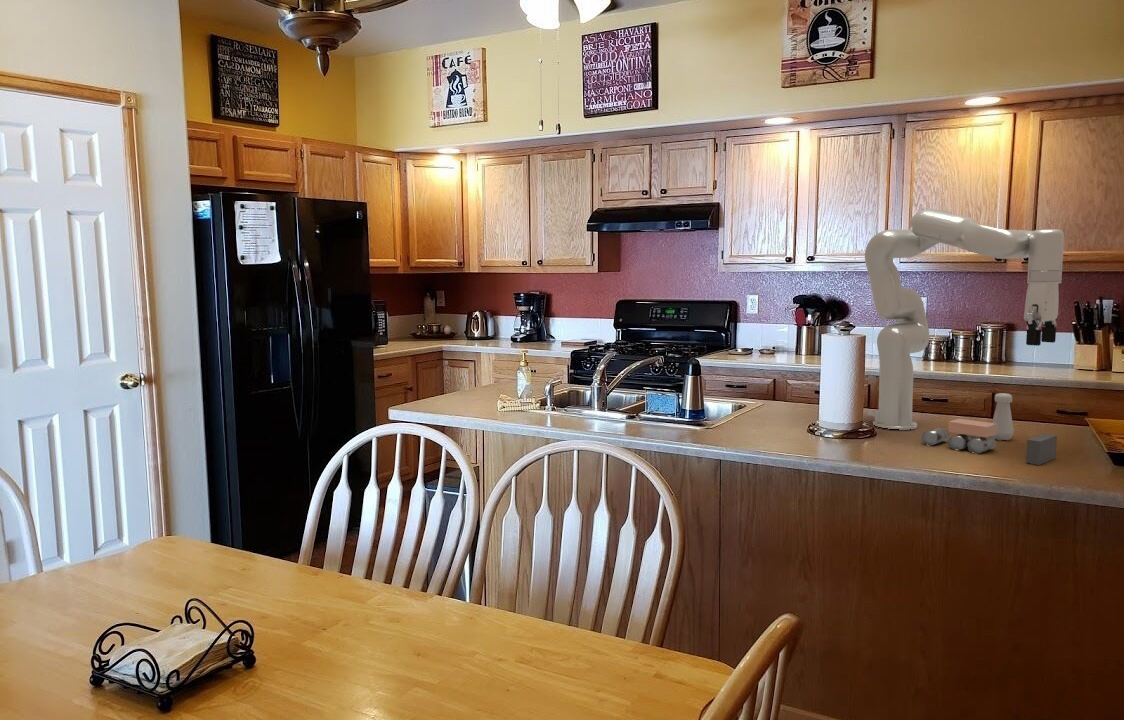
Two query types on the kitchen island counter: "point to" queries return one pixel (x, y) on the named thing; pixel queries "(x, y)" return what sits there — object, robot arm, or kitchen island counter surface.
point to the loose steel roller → (935, 436)
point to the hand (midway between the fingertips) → (1040, 343)
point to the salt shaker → (1003, 417)
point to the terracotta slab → (972, 427)
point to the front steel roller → (981, 444)
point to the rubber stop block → (1041, 449)
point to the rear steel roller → (960, 441)
